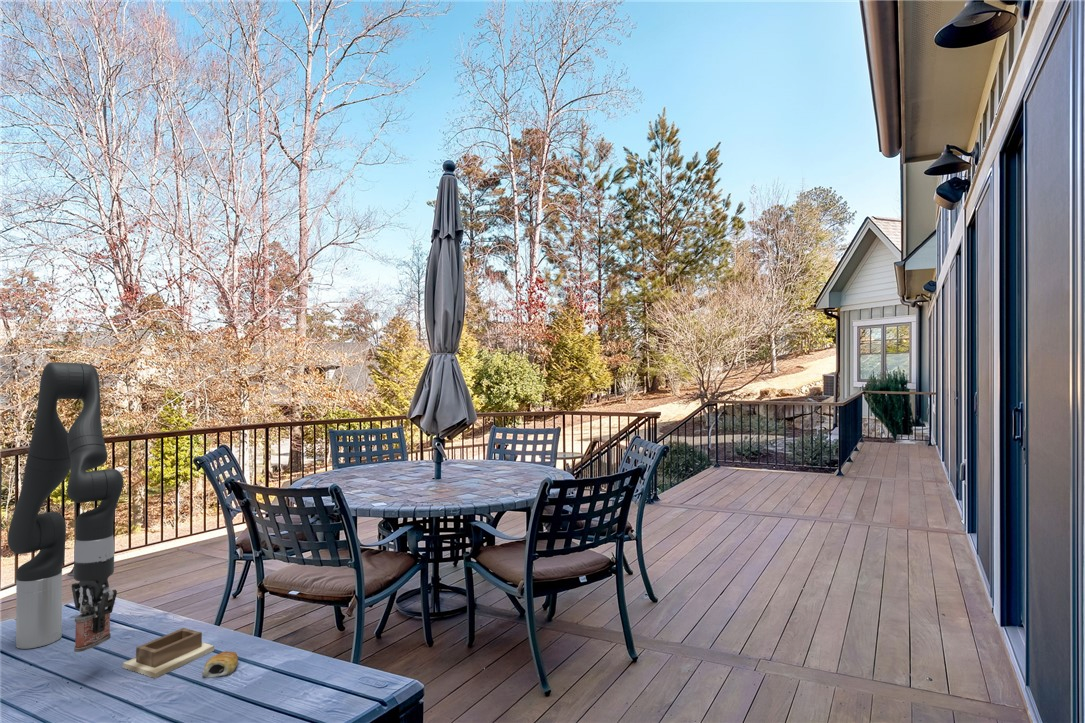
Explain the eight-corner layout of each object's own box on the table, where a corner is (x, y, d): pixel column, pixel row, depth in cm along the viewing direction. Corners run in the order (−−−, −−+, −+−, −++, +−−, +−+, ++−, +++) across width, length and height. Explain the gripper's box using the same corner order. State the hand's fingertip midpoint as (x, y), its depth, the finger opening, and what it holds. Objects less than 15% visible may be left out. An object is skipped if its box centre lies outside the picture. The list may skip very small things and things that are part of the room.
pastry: (214, 660, 148) (214, 645, 148) (244, 658, 149) (244, 642, 149) (200, 680, 139) (200, 663, 139) (232, 677, 140) (232, 660, 140)
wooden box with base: (122, 667, 144) (122, 648, 144) (182, 641, 158) (182, 623, 158) (155, 678, 139) (155, 657, 139) (214, 650, 153) (214, 631, 153)
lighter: (82, 652, 136) (83, 608, 136) (70, 651, 137) (70, 607, 137) (114, 637, 144) (115, 595, 144) (102, 635, 145) (103, 593, 145)
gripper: (58, 556, 140) (57, 630, 140) (95, 565, 134) (93, 643, 134) (93, 547, 147) (92, 618, 147) (130, 556, 141) (128, 629, 141)
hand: (93, 629), depth 140 cm, fingers closed on lighter, 3 cm apart
